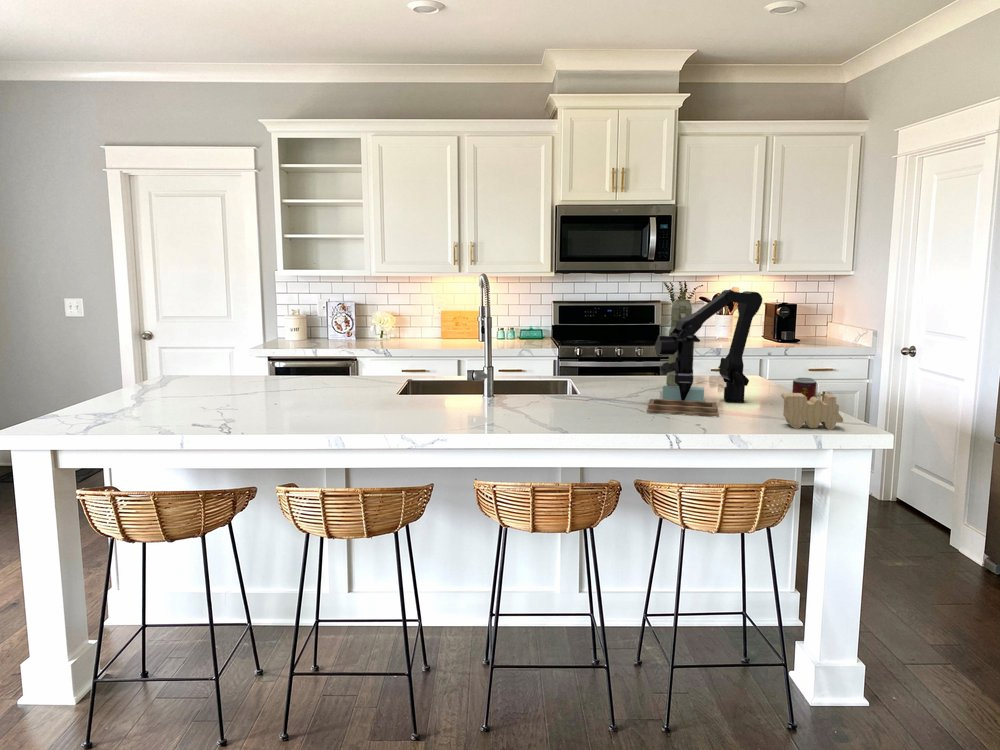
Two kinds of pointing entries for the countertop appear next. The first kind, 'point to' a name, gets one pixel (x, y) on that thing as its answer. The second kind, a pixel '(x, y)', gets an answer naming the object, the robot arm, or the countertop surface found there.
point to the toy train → (811, 410)
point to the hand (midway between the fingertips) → (683, 398)
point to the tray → (683, 407)
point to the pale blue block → (674, 394)
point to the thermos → (677, 312)
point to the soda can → (805, 387)
